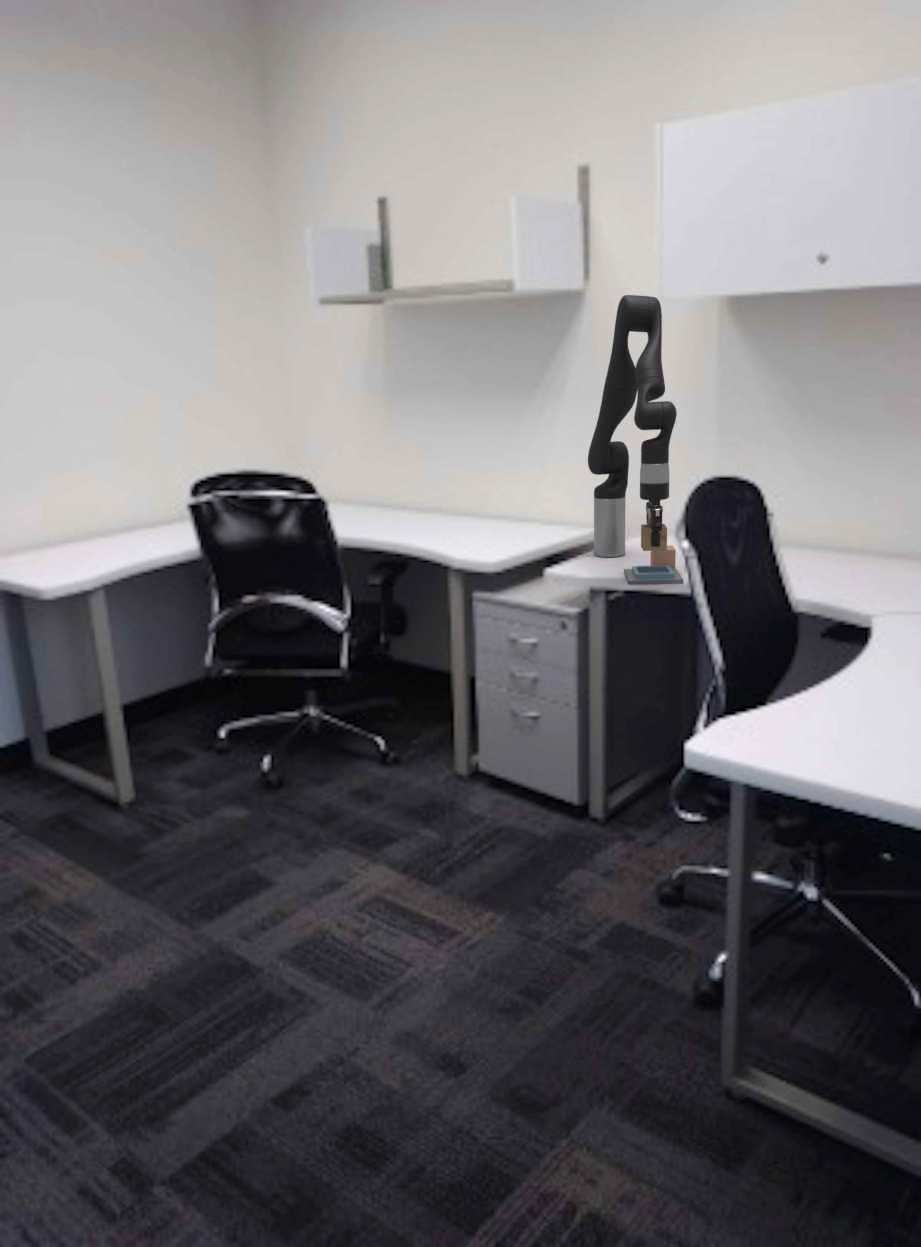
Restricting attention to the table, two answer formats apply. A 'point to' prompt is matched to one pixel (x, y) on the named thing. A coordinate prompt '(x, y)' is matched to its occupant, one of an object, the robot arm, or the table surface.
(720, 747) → the table surface
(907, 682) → the table surface
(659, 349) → the robot arm
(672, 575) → the baseplate
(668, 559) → the terracotta block
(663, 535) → the walnut block
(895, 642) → the table surface
